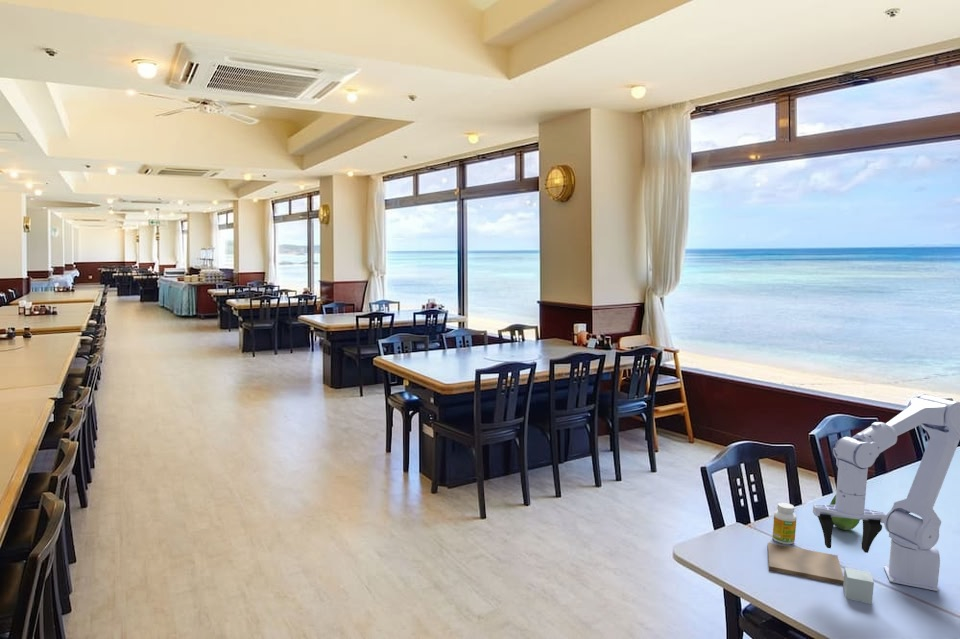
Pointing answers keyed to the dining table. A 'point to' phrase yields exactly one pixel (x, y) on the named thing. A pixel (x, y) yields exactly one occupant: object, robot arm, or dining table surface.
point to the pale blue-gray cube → (858, 585)
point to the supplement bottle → (784, 524)
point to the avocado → (843, 520)
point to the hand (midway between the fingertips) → (846, 548)
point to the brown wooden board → (805, 563)
